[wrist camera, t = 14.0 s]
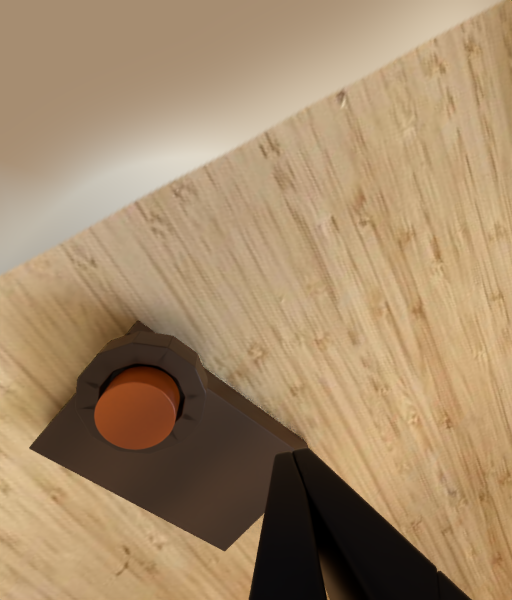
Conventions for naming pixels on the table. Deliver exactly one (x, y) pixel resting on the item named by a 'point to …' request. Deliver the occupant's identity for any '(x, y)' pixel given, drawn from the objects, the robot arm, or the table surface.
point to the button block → (175, 443)
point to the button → (138, 408)
